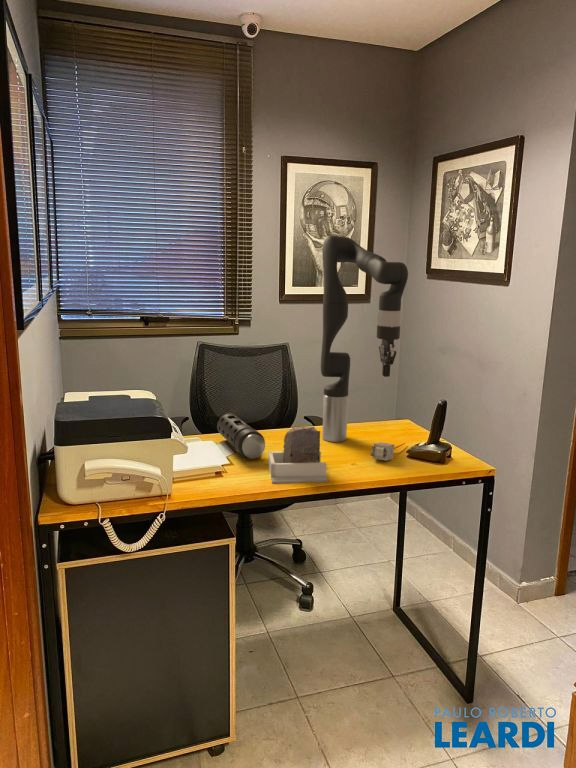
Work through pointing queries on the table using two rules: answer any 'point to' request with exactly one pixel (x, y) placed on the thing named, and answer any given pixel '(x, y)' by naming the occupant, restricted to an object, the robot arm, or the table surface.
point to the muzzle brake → (241, 436)
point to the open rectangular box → (295, 470)
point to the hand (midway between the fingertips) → (385, 376)
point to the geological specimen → (302, 445)
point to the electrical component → (384, 451)
